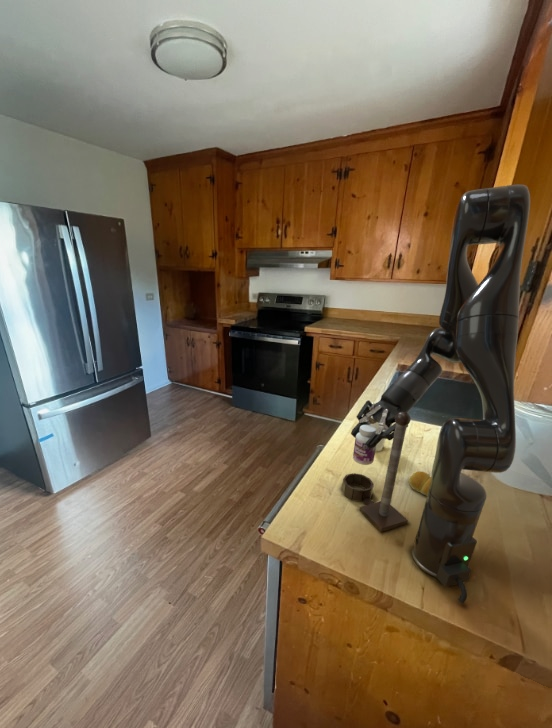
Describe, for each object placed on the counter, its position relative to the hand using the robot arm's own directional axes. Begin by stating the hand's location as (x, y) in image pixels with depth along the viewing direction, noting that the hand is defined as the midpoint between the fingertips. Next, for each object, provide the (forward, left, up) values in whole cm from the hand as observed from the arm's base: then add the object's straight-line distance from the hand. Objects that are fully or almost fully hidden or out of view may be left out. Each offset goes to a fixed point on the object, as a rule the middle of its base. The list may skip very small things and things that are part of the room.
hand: (360, 440), depth 85 cm
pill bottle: (0, -2, -6) cm, 7 cm away
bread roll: (-3, -21, -17) cm, 27 cm away
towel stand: (-5, -2, -17) cm, 17 cm away
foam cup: (+21, -20, -17) cm, 34 cm away
